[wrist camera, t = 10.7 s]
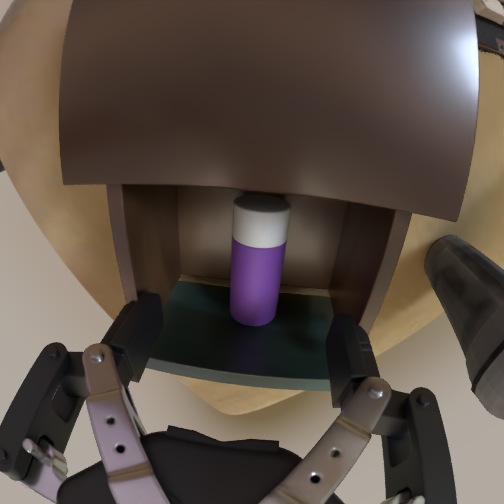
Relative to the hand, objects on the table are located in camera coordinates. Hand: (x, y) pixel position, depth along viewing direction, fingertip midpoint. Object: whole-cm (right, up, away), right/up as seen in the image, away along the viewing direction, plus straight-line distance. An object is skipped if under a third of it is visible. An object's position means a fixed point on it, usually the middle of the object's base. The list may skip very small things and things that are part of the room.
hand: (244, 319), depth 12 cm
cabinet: (+2, +16, +1) cm, 17 cm away
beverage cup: (+17, +3, +7) cm, 18 cm away
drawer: (+1, +4, +7) cm, 8 cm away
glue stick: (+1, +3, +6) cm, 6 cm away
